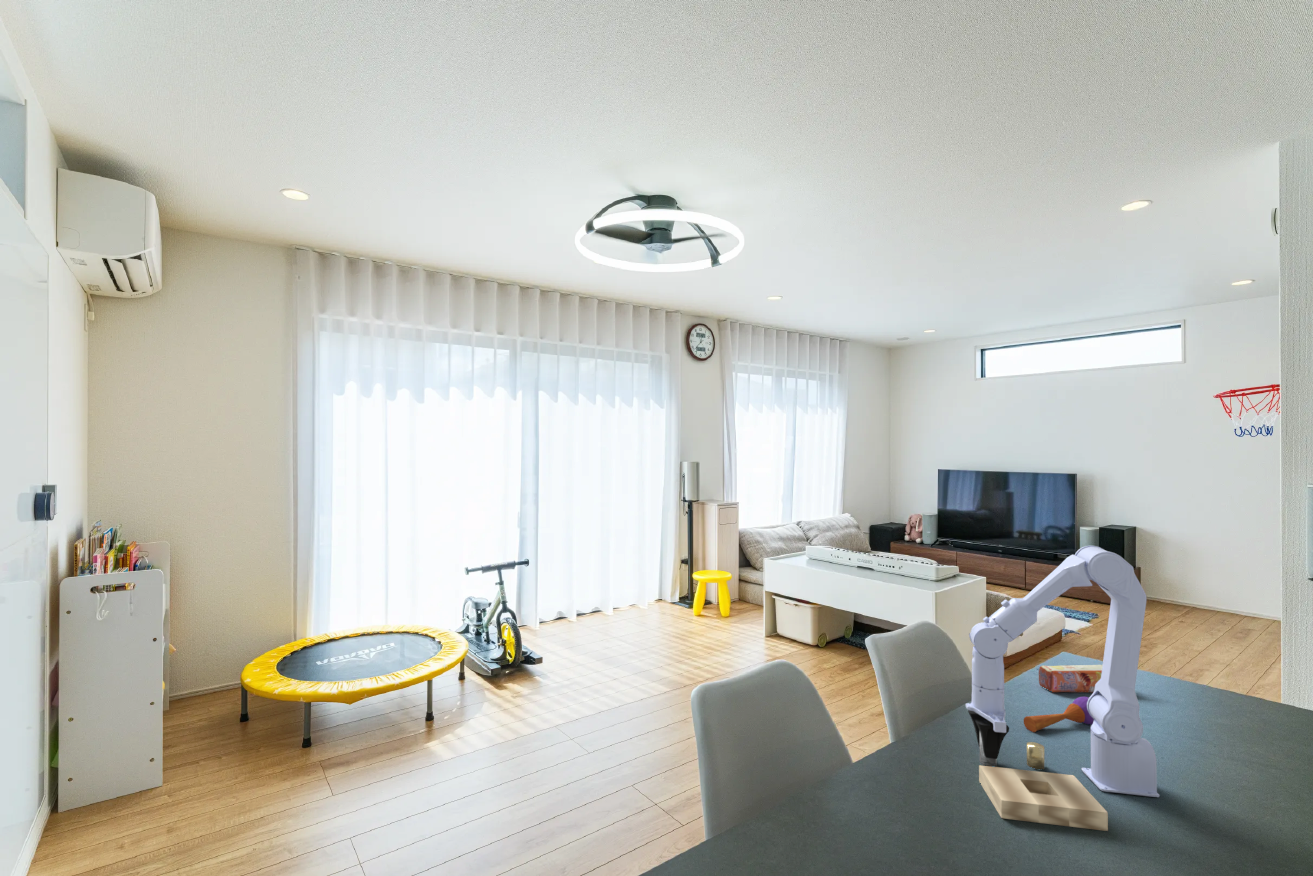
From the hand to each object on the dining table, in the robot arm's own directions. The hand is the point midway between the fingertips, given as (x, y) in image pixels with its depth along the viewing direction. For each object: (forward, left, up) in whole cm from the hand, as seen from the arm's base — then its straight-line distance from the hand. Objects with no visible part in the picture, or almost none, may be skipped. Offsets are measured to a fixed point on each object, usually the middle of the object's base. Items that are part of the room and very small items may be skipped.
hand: (988, 753), depth 122 cm
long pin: (0, 0, -2) cm, 2 cm away
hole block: (-4, +14, -2) cm, 15 cm away
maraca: (-23, -23, -2) cm, 32 cm away
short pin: (-9, -1, -2) cm, 9 cm away
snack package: (-38, -48, -2) cm, 62 cm away
